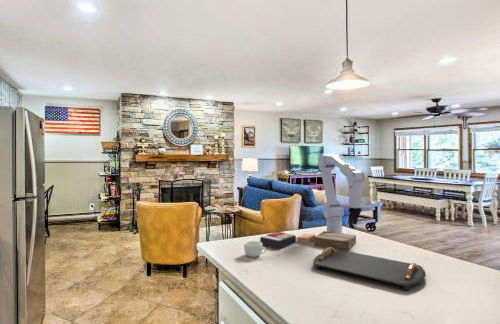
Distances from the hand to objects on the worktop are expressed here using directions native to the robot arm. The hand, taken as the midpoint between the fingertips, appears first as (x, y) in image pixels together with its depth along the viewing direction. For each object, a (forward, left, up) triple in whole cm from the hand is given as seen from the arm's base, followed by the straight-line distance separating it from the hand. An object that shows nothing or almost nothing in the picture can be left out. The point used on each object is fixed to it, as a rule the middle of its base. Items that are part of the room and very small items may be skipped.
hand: (355, 224), depth 155 cm
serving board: (+33, +12, -11) cm, 37 cm away
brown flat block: (+5, -8, -10) cm, 14 cm away
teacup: (+40, -32, -10) cm, 52 cm away
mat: (+5, -23, -10) cm, 25 cm away
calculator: (+18, -32, -10) cm, 38 cm away
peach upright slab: (+5, -23, -8) cm, 24 cm away
